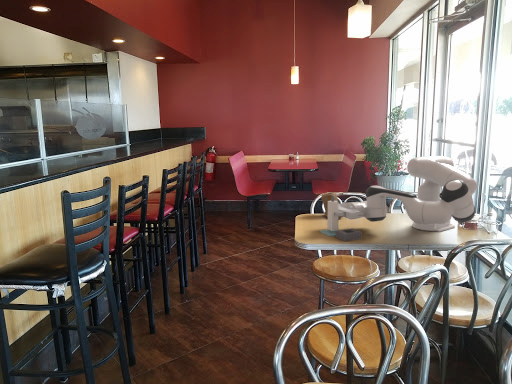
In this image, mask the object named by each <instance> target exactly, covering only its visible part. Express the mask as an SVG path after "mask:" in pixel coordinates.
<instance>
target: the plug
mask: <svg viewBox="0 0 512 384" xmlns="http://www.w3.org/2000/svg"><path fill="white" fill-rule="evenodd" d="M339 204H340V203H339V200H338V201H335V195H332V201H328V217H327V230H331V231H334V230H339V219H338V216H334V212H339Z"/></svg>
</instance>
